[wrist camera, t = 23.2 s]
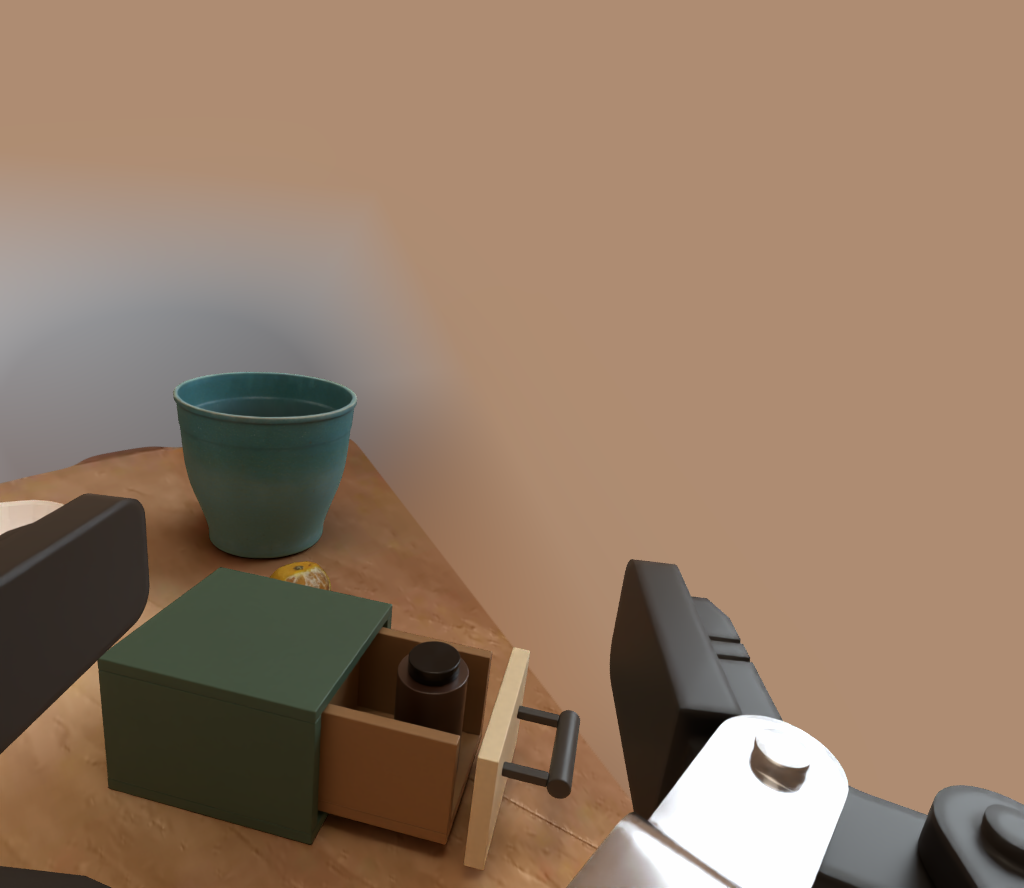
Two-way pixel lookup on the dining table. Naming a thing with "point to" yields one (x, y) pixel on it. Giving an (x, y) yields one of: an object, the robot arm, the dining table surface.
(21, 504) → the cup
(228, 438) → the flower pot
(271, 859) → the dining table surface
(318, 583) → the fruit
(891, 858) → the robot arm
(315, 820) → the cabinet
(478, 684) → the drawer
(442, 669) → the pepper mill
